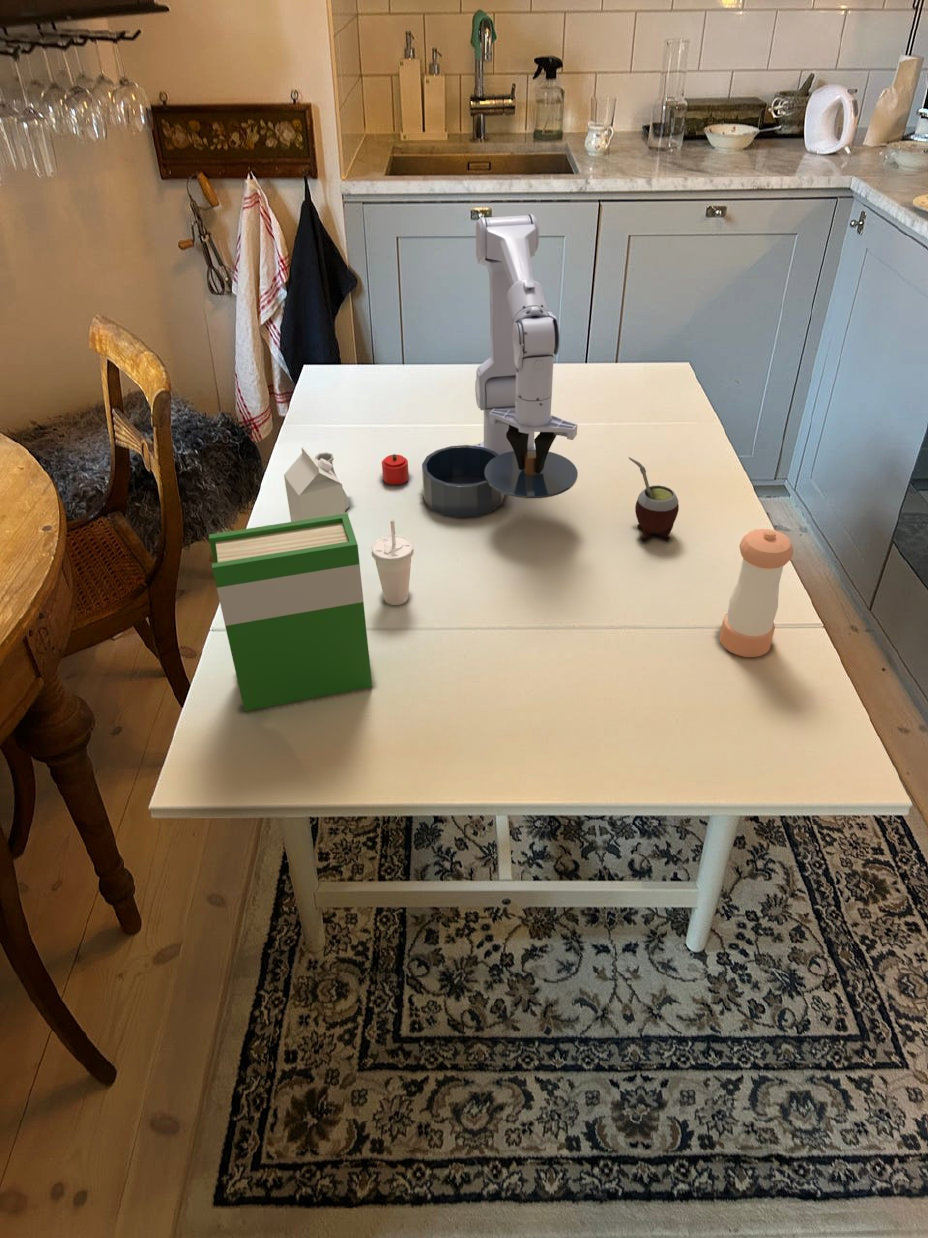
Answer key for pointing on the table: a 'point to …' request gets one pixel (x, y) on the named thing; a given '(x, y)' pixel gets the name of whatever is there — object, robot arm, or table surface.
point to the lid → (530, 475)
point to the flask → (330, 458)
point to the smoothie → (393, 565)
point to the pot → (459, 481)
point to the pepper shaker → (756, 593)
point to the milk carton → (313, 489)
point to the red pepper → (395, 469)
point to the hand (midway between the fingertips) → (530, 468)
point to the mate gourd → (655, 509)
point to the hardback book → (293, 609)
